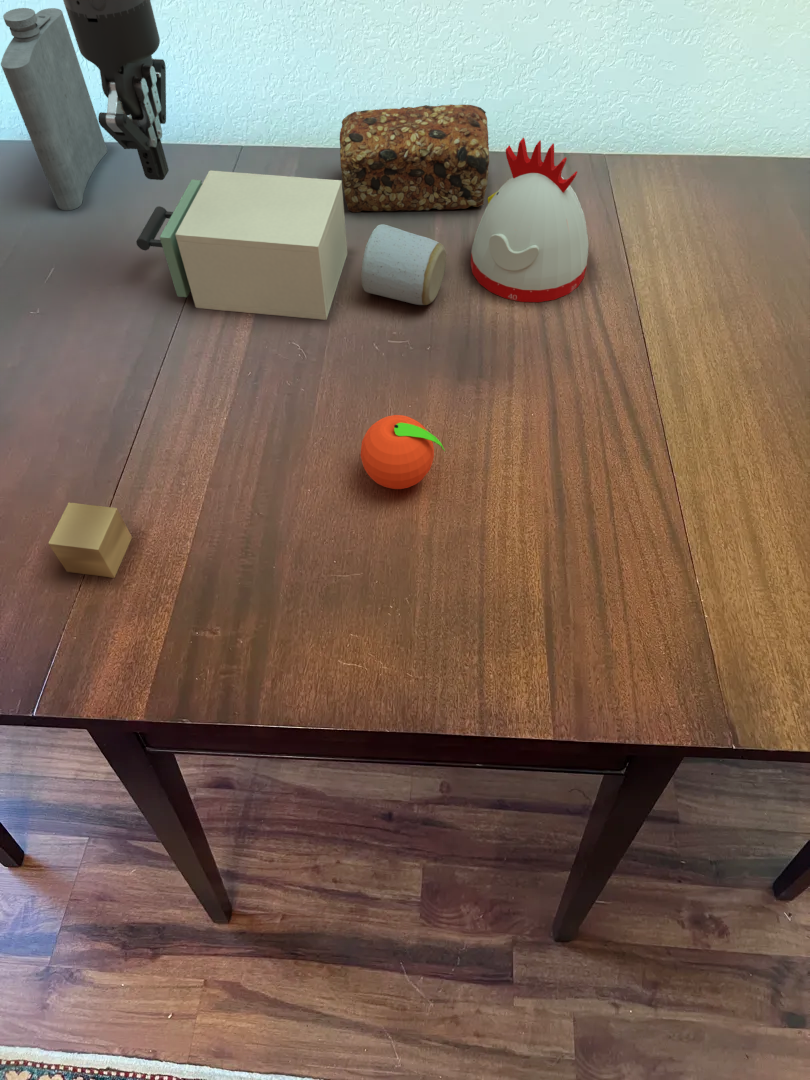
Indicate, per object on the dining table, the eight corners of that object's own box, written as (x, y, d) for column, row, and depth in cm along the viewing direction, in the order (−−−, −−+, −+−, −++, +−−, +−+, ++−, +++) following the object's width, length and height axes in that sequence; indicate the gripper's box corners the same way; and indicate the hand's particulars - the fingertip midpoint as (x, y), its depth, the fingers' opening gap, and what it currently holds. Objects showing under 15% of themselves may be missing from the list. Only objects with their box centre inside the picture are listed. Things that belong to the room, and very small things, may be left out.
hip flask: (78, 210, 102) (15, 44, 86) (48, 210, 103) (-22, 43, 86) (109, 146, 111) (57, -16, 95) (81, 146, 112) (25, -16, 95)
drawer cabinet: (195, 308, 91) (174, 234, 83) (225, 243, 98) (209, 170, 90) (326, 320, 89) (318, 246, 82) (347, 254, 97) (341, 180, 89)
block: (67, 572, 70) (47, 543, 66) (86, 531, 73) (68, 502, 69) (114, 578, 70) (98, 549, 66) (132, 537, 72) (117, 507, 68)
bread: (481, 169, 107) (486, 93, 99) (486, 214, 101) (492, 137, 93) (345, 170, 107) (340, 95, 99) (342, 215, 101) (336, 139, 93)
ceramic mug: (427, 320, 89) (429, 262, 83) (361, 305, 91) (357, 246, 85) (456, 268, 95) (459, 209, 89) (393, 254, 97) (392, 195, 90)
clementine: (448, 455, 78) (451, 403, 72) (438, 509, 74) (440, 460, 68) (370, 445, 78) (366, 394, 73) (355, 499, 74) (350, 449, 69)
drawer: (141, 293, 91) (120, 233, 85) (172, 235, 98) (155, 176, 91) (298, 307, 89) (289, 248, 83) (319, 248, 96) (313, 188, 89)
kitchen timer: (499, 220, 100) (511, 100, 88) (601, 250, 96) (628, 128, 84) (451, 281, 93) (457, 159, 81) (559, 315, 89) (583, 193, 77)
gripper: (93, -38, 75) (145, 142, 89) (35, 23, 67) (102, 208, 81) (168, -34, 74) (208, 146, 88) (118, 27, 66) (171, 213, 81)
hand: (157, 176), depth 85 cm, fingers closed
